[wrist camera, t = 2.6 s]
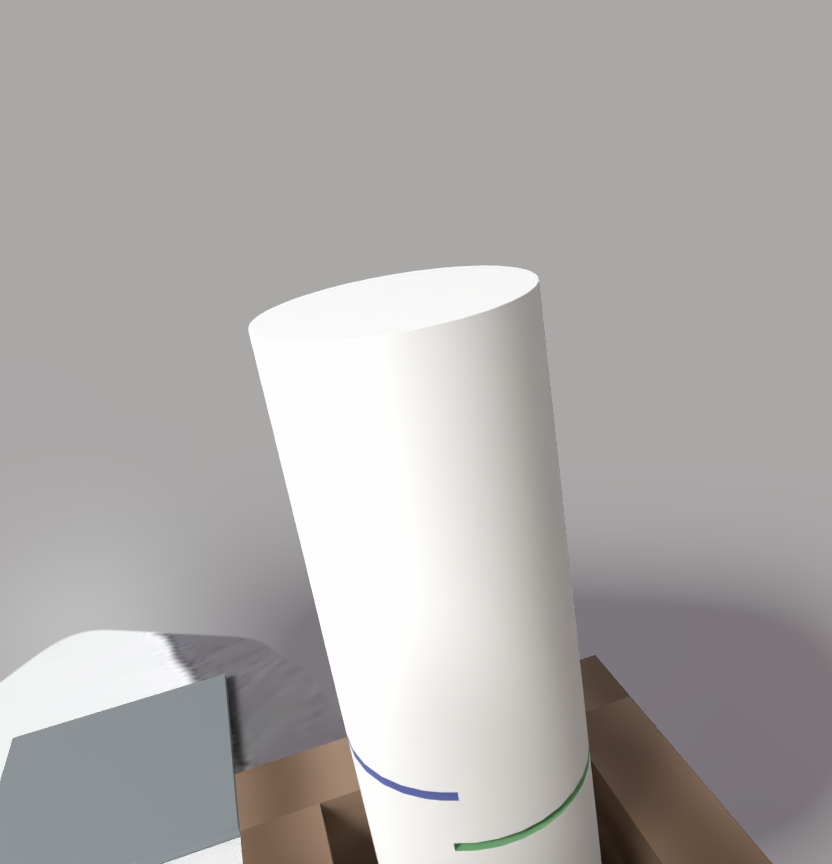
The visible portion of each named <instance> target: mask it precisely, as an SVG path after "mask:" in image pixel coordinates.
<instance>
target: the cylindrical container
mask: <svg viewBox="0 0 832 864" xmlns="http://www.w3.org/2000/svg"><path fill="white" fill-rule="evenodd" d="M248 331H249V335H250V338H251V343H252V347H253V351H254V355H255V359H256V363H257V367H258V371H259V375H260V379H261V384H262V388H263V392H264V395H265V400H266V404H267V408H268V412H269V416H270V420H271V424H272V428H273V432H274V436H275V441H276V444H277V449H278V453H279V457H280V461H281V465H282V469H283V473H284V477H285V482H286V486H287V490H288V494H289V498H290V502H291V506H292V510H293V514H294V518H295V522H296V526H297V530H298V535H299V538H300V543H301V547H302V551H303V555H304V558H305V563H306V567H307V571H308V575H309V580H310V584H311V588H312V592H313V596H314V600H315V604H316V609H317V613H318V617H319V621H320V625H321V630H322V633H323V638H324V642H325V646H326V650H327V654H328V659H329V662H330V667H331V671H332V675H333V679H334V683H335V688H336V692H337V696H338V700H339V704H340V708H341V713H342V717H343V721H344V725H345V729H346V733H347V736H348V741H349V746H350V750H351V754H352V758H353V762H354V766H355V770H356V774H357V778H358V782H359V786H360V790H361V794H362V798H363V803H364V807H365V811H366V815H367V819H368V823H369V827H370V831H371V835H372V839H373V843H374V847H375V851H376V855H377V860H378V864H602V863H601V854H600V844H599V835H598V826H597V817H596V807H595V798H594V789H593V779H592V770H591V761H590V752H589V742H588V732H587V723H586V713H585V703H584V694H583V685H582V676H581V666H580V658H579V648H578V639H577V629H576V620H575V610H574V601H573V592H572V582H571V574H570V565H569V555H568V545H567V536H566V527H565V517H564V508H563V499H562V490H561V480H560V471H559V462H558V452H557V443H556V434H555V425H554V415H553V408H552V407H553V406H552V397H551V387H550V378H549V369H548V360H547V351H546V341H545V331H544V322H543V313H542V303H541V295H540V285H539V279H538V277H537V275H536V274H534V273H533V272H531V271H529V270H525V269H521V268H516V267H506V266H460V267H448V268H436V269H429V270H420V271H412V272H406V273H399V274H394V275H387V276H382V277H377V278H372V279H366V280H362V281H358V282H353V283H349V284H344V285H340V286H336V287H332V288H329V289H325V290H321V291H318V292H314V293H311V294H308V295H305V296H302V297H298V298H296V299H293V300H290V301H288V302H285V303H282V304H280V305H278V306H276V307H274V308H271V309H270V310H267V311H266V312H264V313H262V314H261V315H259V316H257V317H256V318H255V319H254V320H253V321H252V322H251V323H250V325H249V328H248Z"/></svg>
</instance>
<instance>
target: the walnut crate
mask: <svg viewBox="0 0 832 864" xmlns="http://www.w3.org/2000/svg"><path fill="white" fill-rule="evenodd" d="M580 666H581V676H582V685H583V694H584V703H585V713H586V723H587V732H588V742H589V752H590V761H591V770H592V779H593V789H594V798H595V807H596V817H597V826H598V835H599V844H600V854H601V863H602V864H772V863H771V862H770V861H769V859H768V858H767V857H766V856H765V855H764V853H763V852H762V851H761V850H760V849H759V848H758V846H757V845H756V844H755V843H754V842H753V840H752V839H751V838H750V837H749V836H748V835H747V833H746V832H745V831H744V830H743V829H742V828H741V826H740V825H739V824H738V823H737V822H736V820H735V819H734V818H733V817H732V816H731V815H730V814H729V812H728V811H727V810H726V809H725V807H724V806H723V805H722V804H721V803H720V802H719V800H718V799H717V798H716V797H715V796H714V795H713V793H712V792H711V791H710V790H709V789H708V787H707V786H706V785H705V784H704V783H703V782H702V780H701V779H700V778H699V777H698V776H697V775H696V773H695V772H694V771H693V770H692V769H691V767H690V766H689V765H688V764H687V763H686V762H685V760H683V758H682V757H681V756H680V755H679V753H678V752H677V751H676V750H675V749H674V747H673V746H672V745H671V744H670V743H669V742H668V740H667V739H666V738H665V737H664V736H663V735H662V733H661V732H660V731H659V730H658V729H657V728H656V726H655V725H654V724H653V723H652V722H651V720H650V719H649V718H648V717H647V716H646V714H645V713H644V712H643V711H642V710H641V709H640V707H639V706H638V705H637V704H636V703H635V702H634V700H633V699H632V698H631V697H630V696H629V694H628V693H627V692H626V691H625V690H624V689H623V687H622V686H621V685H620V684H619V683H618V682H617V680H616V679H615V678H614V677H613V676H612V675H611V673H610V672H609V671H608V670H607V669H606V667H605V666H604V665H603V664H602V663H601V662H600V660H599V659H598V658H597V657H596V656H595V655H594V656H591V657H588V658H585V659H582V660H580ZM235 779H236V790H237V801H238V813H239V824H240V835H241V847H242V858H243V864H378V860H377V855H376V851H375V847H374V843H373V839H372V835H371V831H370V827H369V823H368V819H367V815H366V811H365V807H364V803H363V798H362V794H361V790H360V786H359V782H358V778H357V774H356V770H355V766H354V762H353V758H352V754H351V750H350V746H349V741H348V737H346V738H343V739H339V740H336V741H333V742H330V743H327V744H324V745H321V746H318V747H315V748H312V749H309V750H306V751H303V752H300V753H297V754H294V755H291V756H288V757H285V758H282V759H279V760H276V761H273V762H270V763H267V764H264V765H261V766H258V767H255V768H252V769H249V770H246V771H242V772H239V773H236V774H235Z"/></svg>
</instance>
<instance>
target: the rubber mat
mask: <svg viewBox="0 0 832 864" xmlns="http://www.w3.org/2000/svg"><path fill="white" fill-rule="evenodd" d="M239 836H241V835H240V824H239V813H238V801H237V790H236V779H235V765H234V754H233V742H232V731H231V720H230V709H229V698H228V686H227V680H226V677H225V674H223V675H219V676H216V677H213V678H209V679H206V680H203V681H200V682H196V683H193V684H190V685H186V686H183V687H180V688H176V689H173V690H170V691H167V692H163V693H160V694H157V695H153V696H150V697H147V698H144V699H140V700H137V701H134V702H130V703H127V704H124V705H121V706H117V707H114V708H111V709H107V710H104V711H101V712H97V713H94V714H91V715H88V716H84V717H81V718H78V719H74V720H71V721H68V722H65V723H61V724H58V725H55V726H51V727H48V728H45V729H42V730H38V731H35V732H32V733H28V734H25V735H22V736H18V737H15V738H13V740H12V743H11V747H10V750H9V753H8V757H7V760H6V764H5V767H4V770H3V774H2V777H1V781H0V864H161V863H164V862H167V861H170V860H173V859H176V858H179V857H182V856H184V855H187V854H190V853H193V852H196V851H199V850H202V849H205V848H208V847H210V846H213V845H216V844H219V843H222V842H225V841H228V840H231V839H234V838H236V837H239Z"/></svg>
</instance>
